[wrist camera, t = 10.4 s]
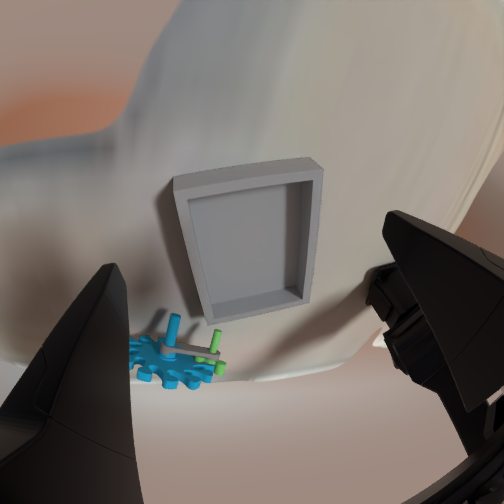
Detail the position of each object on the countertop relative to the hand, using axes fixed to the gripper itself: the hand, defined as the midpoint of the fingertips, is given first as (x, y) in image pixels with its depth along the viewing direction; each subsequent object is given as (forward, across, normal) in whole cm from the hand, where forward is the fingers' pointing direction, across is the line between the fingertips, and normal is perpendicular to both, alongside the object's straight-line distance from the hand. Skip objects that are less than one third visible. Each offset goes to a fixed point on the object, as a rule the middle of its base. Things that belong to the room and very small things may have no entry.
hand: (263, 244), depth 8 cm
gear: (+14, +8, +20) cm, 26 cm away
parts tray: (+13, -2, +10) cm, 17 cm away
